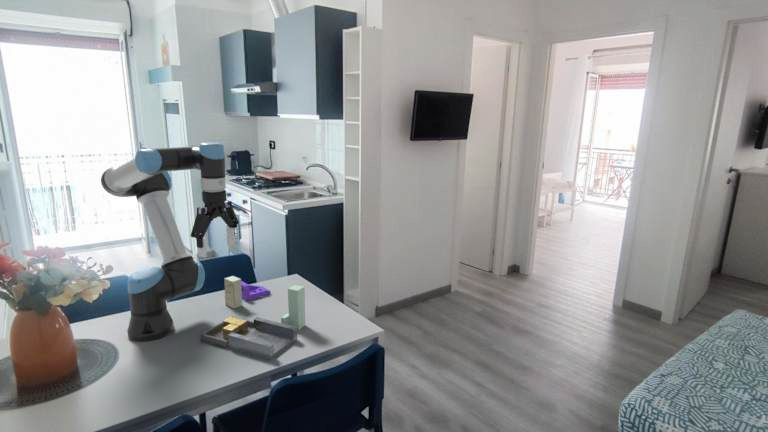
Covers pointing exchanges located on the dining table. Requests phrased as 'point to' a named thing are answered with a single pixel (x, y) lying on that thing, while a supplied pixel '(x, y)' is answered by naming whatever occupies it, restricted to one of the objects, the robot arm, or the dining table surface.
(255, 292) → the bracket
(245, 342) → the slot rail
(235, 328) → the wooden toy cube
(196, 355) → the dining table surface
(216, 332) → the chip tray
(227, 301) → the skincare box
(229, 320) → the dull yellow cube
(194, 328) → the dining table surface
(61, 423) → the dining table surface
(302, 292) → the mint t-shaped block
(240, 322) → the tan yellow cube
